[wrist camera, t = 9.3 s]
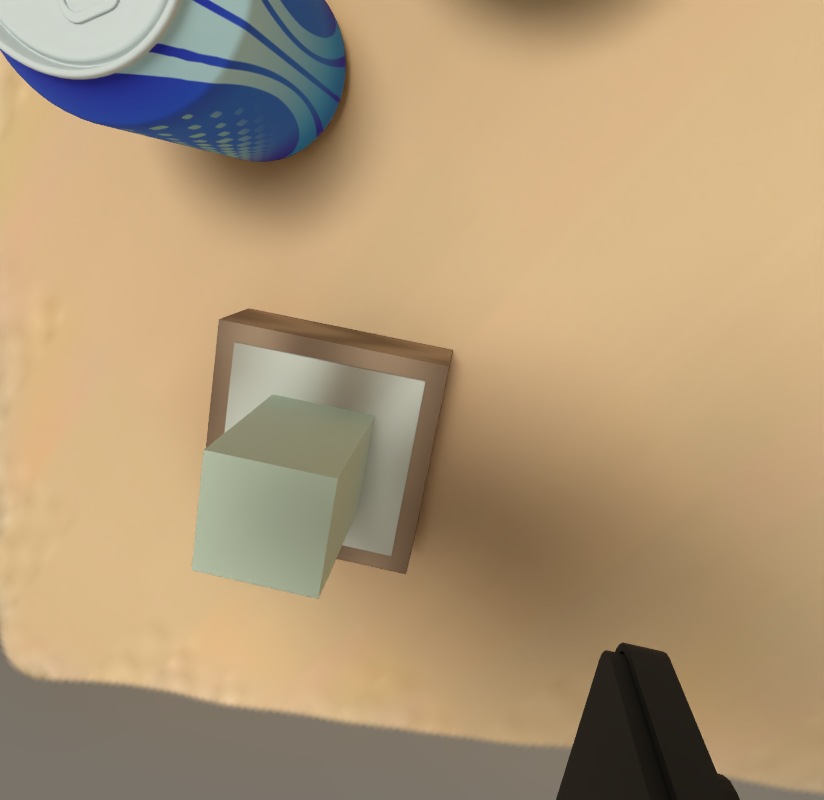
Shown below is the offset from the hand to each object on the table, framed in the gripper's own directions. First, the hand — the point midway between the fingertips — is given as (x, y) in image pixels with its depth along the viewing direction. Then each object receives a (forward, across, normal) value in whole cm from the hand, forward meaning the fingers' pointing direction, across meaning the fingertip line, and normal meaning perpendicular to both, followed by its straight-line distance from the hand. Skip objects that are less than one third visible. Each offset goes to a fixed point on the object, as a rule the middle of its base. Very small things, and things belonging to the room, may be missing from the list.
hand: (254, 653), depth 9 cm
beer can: (+26, +10, -11) cm, 30 cm away
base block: (+26, +4, +6) cm, 27 cm away
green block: (+22, +4, +6) cm, 23 cm away
